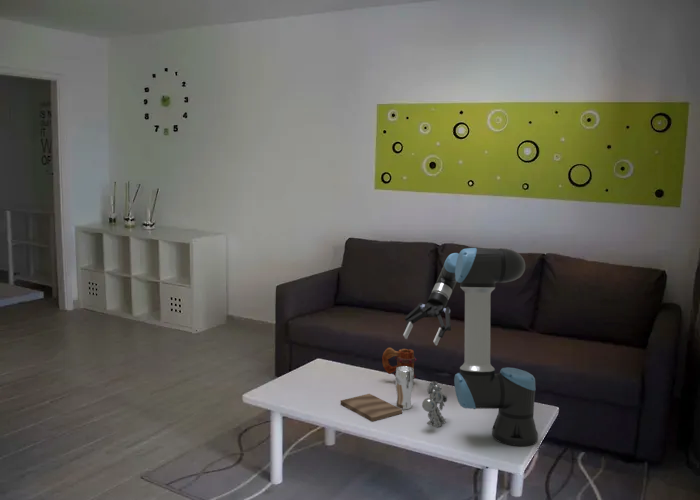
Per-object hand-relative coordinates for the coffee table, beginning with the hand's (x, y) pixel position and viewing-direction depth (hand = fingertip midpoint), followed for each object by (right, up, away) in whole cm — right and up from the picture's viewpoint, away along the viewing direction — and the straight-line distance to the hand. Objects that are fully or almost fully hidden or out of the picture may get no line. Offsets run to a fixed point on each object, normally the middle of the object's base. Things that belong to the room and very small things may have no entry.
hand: (419, 340), depth 251 cm
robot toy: (+3, -27, -22) cm, 35 cm away
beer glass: (-7, -25, -6) cm, 26 cm away
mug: (-7, -21, +21) cm, 31 cm away
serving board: (-19, -25, -9) cm, 33 cm away
